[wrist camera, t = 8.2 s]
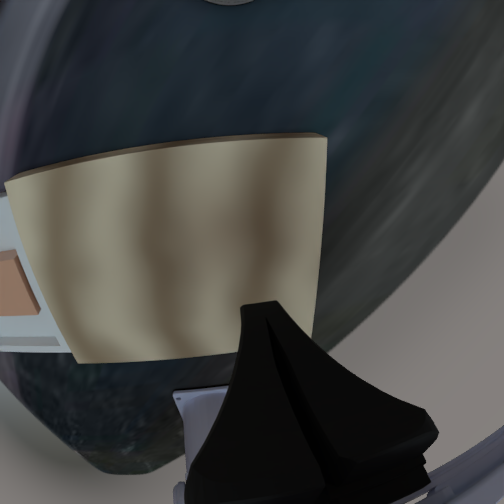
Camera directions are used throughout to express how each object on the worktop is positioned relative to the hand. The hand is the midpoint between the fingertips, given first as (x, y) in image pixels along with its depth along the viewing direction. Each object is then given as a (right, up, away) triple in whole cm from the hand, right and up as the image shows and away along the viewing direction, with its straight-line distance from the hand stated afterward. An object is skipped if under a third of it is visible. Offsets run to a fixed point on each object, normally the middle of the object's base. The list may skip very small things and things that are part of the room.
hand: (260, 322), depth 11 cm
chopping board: (-6, +2, +10) cm, 12 cm away
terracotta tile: (-20, 0, +8) cm, 21 cm away
